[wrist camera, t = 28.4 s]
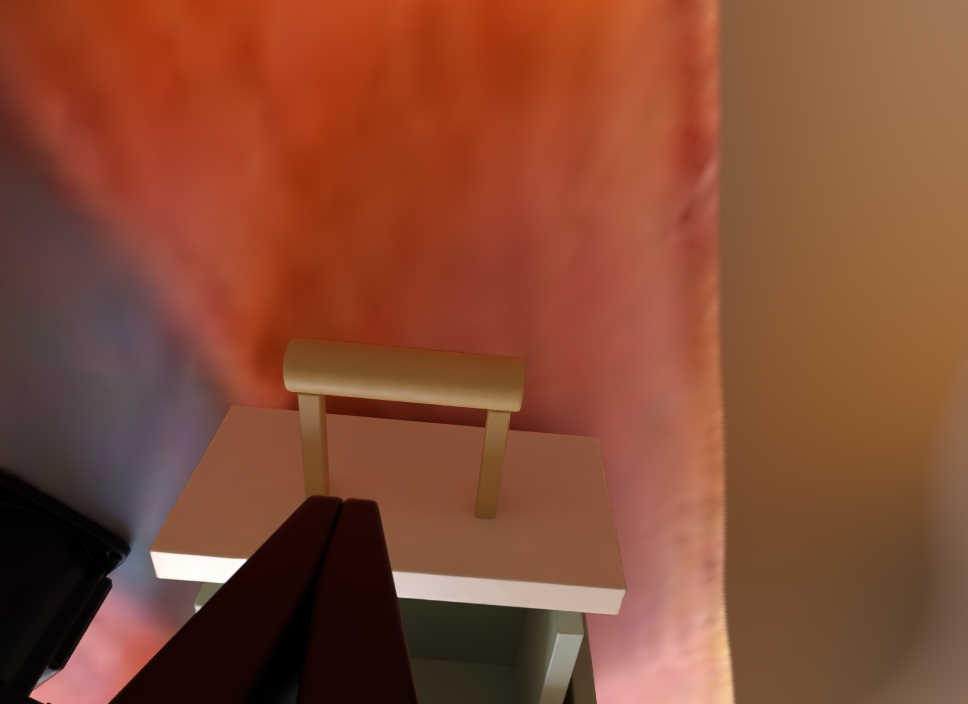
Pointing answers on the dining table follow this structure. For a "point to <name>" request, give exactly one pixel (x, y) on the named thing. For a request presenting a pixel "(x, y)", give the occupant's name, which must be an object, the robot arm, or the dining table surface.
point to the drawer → (422, 512)
